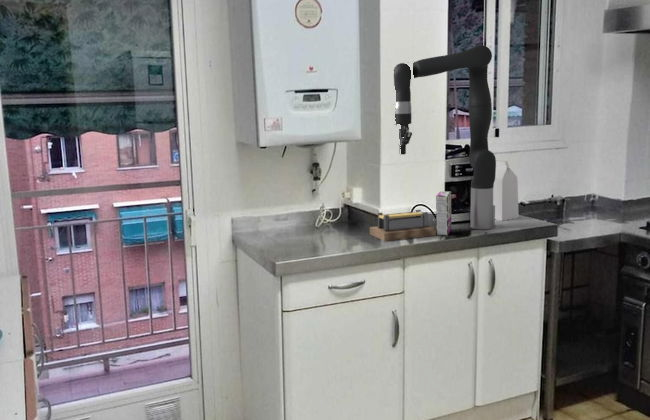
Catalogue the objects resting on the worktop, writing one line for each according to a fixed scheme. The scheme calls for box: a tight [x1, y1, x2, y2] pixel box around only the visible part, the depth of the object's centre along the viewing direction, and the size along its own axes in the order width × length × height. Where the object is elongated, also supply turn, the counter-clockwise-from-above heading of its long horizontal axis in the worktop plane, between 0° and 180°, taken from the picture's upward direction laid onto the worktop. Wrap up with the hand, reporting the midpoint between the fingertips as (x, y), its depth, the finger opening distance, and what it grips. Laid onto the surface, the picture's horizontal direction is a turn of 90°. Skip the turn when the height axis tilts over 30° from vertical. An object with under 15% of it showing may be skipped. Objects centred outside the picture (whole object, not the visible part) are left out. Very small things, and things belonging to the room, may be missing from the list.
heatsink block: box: [377, 209, 429, 231], centre depth 248 cm, size 19×8×6 cm, turn 110°
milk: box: [493, 160, 520, 221], centre depth 276 cm, size 12×12×26 cm
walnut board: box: [369, 224, 437, 242], centre depth 248 cm, size 23×14×3 cm, turn 110°
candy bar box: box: [435, 191, 452, 236], centre depth 249 cm, size 11×5×16 cm, turn 161°
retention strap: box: [379, 210, 424, 219], centre depth 247 cm, size 19×4×2 cm, turn 110°
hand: (402, 154), depth 255 cm, fingers closed
